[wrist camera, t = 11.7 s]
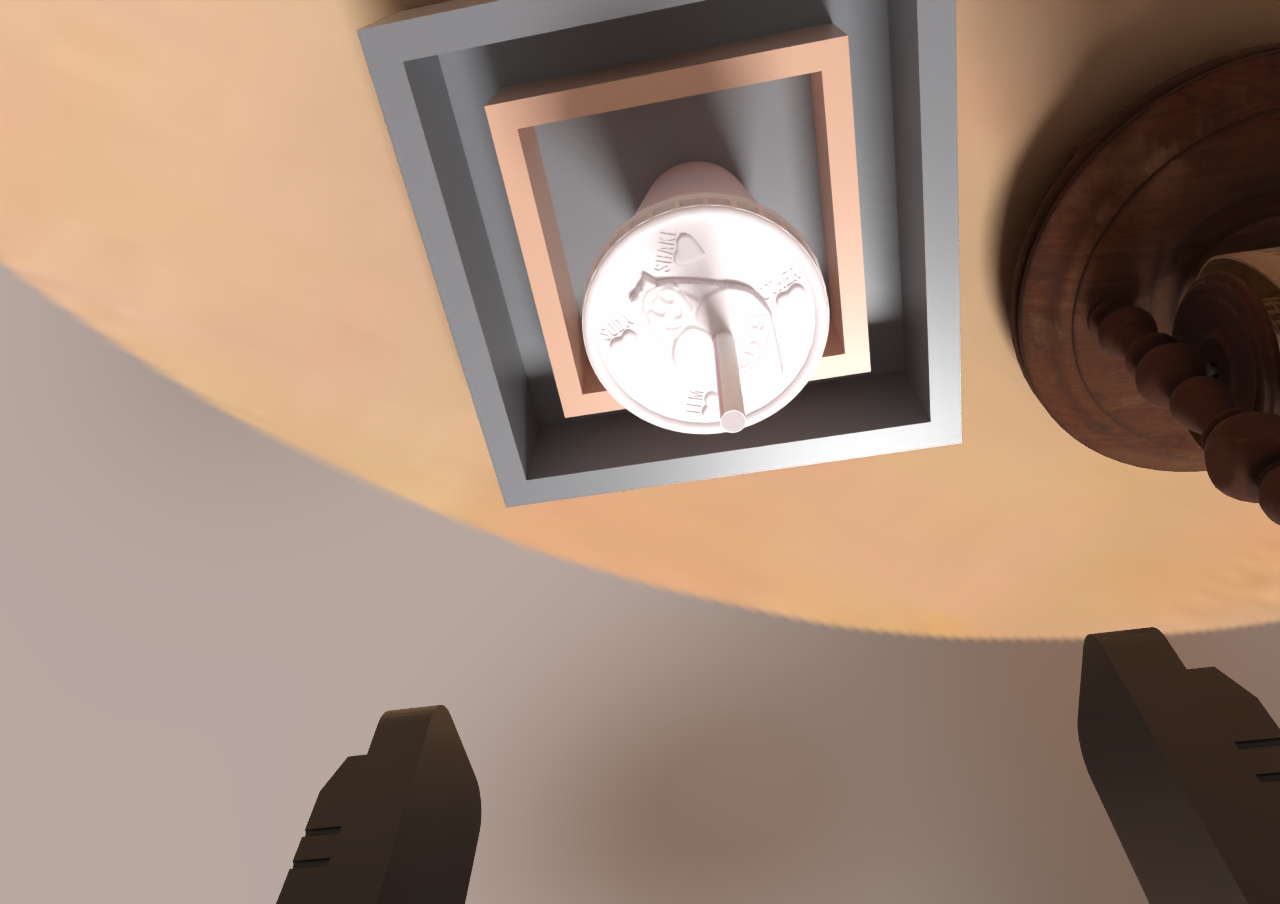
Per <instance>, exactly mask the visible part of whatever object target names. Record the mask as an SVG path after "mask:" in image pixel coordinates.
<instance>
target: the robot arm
mask: <svg viewBox="0 0 1280 904" xmlns="http://www.w3.org/2000/svg"><path fill="white" fill-rule="evenodd" d="M1078 736H1079V742H1080V747H1081V752H1082V755H1083V759H1084V762H1085V765H1086V768H1087V770H1088V773H1089V775H1090V778H1091V780H1092V782H1093V784H1094V786H1095V788H1096V791H1097V793H1098V795H1099V797H1100V799H1101V801H1102V803H1103V806H1104V808H1105V810H1106V812H1107V814H1108V816H1109V818H1110V821H1111V823H1112V825H1113V827H1114V829H1115V831H1116V833H1117V835H1118V837H1119V839H1120V842H1121V844H1122V846H1123V848H1124V850H1125V853H1126V854H1127V857H1128V859H1129V861H1130V863H1131V865H1132V867H1133V869H1134V872H1135V874H1136V876H1137V878H1138V880H1139V882H1140V884H1141V887H1142V889H1143V891H1144V893H1145V895H1146V897H1147V900H1148V902H1149V904H1280V729H1279V727H1278V726H1277V725H1276V723H1275V722H1274V721H1273V719H1272V718H1271V716H1270V715H1269V714H1268V712H1267V711H1266V709H1265V708H1264V707H1263V705H1262V704H1261V702H1260V701H1259V700H1258V698H1257V697H1255V696H1253V695H1252V694H1251V693H1250V692H1248V691H1247V690H1246V689H1244V688H1243V687H1241V686H1240V685H1239V684H1237V683H1236V682H1235V681H1233V680H1232V679H1230V678H1229V677H1228V676H1226V675H1225V674H1224V673H1222V672H1221V671H1219V670H1218V669H1217V668H1215V667H1208V668H1207V667H1206V668H1197V669H1186V668H1185V666H1184V665H1183V663H1182V662H1181V660H1180V659H1179V657H1178V655H1177V654H1176V652H1175V651H1174V649H1173V648H1172V646H1171V645H1170V643H1169V642H1168V640H1167V639H1166V637H1165V636H1164V635H1163V634H1162V633H1161V631H1160V630H1158V629H1157V628H1154V627H1150V628H1141V629H1132V630H1123V631H1114V632H1106V633H1097V634H1089V635H1087V636H1086V638H1085V641H1084V646H1083V657H1082V670H1081V683H1080V695H1079V708H1078ZM480 825H481V798H480V791H479V786H478V782H477V780H476V777H475V774H474V772H473V769H472V767H471V764H470V762H469V759H468V757H467V754H466V752H465V749H464V747H463V745H462V742H461V740H460V737H459V735H458V732H457V730H456V728H455V725H454V722H453V720H452V718H451V715H450V713H449V711H448V710H447V708H446V707H445V706H443V705H436V706H427V707H419V708H410V709H401V710H392V711H387V712H385V713H384V714H383V715H382V717H381V718H380V720H379V723H378V725H377V728H376V731H375V734H374V737H373V739H372V742H371V745H370V748H369V751H368V754H367V755H359V756H350V757H347V759H346V760H345V761H344V762H343V764H342V765H341V766H340V767H339V769H338V770H337V771H336V772H335V774H334V775H333V776H332V777H331V779H330V780H329V781H328V782H327V783H326V785H325V786H324V787H323V788H322V790H321V791H320V793H319V795H318V798H317V801H316V803H315V806H314V808H313V811H312V813H311V816H310V818H309V821H308V824H307V826H306V829H305V831H306V835H305V837H302V839H301V841H300V844H299V847H298V849H297V852H296V854H295V857H294V859H293V863H294V865H293V869H290V870H289V872H288V875H287V877H286V880H285V882H284V885H283V888H282V890H281V893H280V895H279V898H278V900H277V903H276V904H465V900H466V896H467V891H468V886H469V881H470V876H471V871H472V866H473V861H474V857H475V852H476V847H477V842H478V837H479V832H480Z"/></svg>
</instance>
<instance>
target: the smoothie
mask: <svg viewBox="0 0 1280 904" xmlns="http://www.w3.org/2000/svg"><path fill="white" fill-rule="evenodd" d="M582 329H583V338H584V344H585V348H586V352H587V355H588V358H589V361H590V363H591V365H592V368H593V370H594V372H595V374H596V375H597V377H598V379H599V380H600V382H601V383H602V385H603V386H604V387H605V389H606V390H607V391H608V392H609V393H610V394H611V396H612V397H613V398H614V399H615V400H616V401H617V402H619V403H620V404H621V405H622V406H623V407H624V408H626V409H627V410H628V411H630V412H631V413H633V414H634V415H636V416H638V417H639V418H641V419H643V420H645V421H647V422H649V423H651V424H654V425H656V426H659V427H662V428H665V429H669V430H672V431H677V432H682V433H691V434H715V433H723V432H730V433H736V432H739V431H741V430H742V429H743V428H744V427H747V426H750V425H753V424H755V423H757V422H759V421H762V420H764V419H765V418H767V417H769V416H771V415H772V414H774V413H776V412H777V411H779V410H780V409H781V408H783V407H784V406H785V405H786V404H788V403H789V402H790V401H791V400H792V399H793V398H794V397H795V396H796V395H797V394H798V393H799V392H800V391H801V390H802V389H803V387H804V386H805V385H806V384H807V382H808V381H809V379H810V378H811V377H812V375H813V373H814V371H815V370H816V368H817V366H818V364H819V362H820V360H821V357H822V355H823V352H824V349H825V346H826V341H827V337H828V330H829V303H828V297H827V292H826V286H825V282H824V279H823V276H822V273H821V269H820V266H819V263H818V260H817V257H816V256H815V254H814V253H813V251H812V250H811V248H810V247H809V245H808V244H807V242H806V241H805V239H804V238H803V236H802V235H801V233H800V232H799V231H798V230H797V229H795V228H794V227H793V226H792V225H791V224H789V223H788V222H787V221H786V220H785V219H783V218H782V217H781V216H780V215H779V214H778V213H776V212H775V211H773V210H771V209H769V208H767V207H764V206H762V205H760V204H758V202H757V201H756V200H755V199H754V198H753V196H752V195H751V194H750V193H749V192H748V191H747V189H746V188H745V187H744V186H743V185H742V184H741V182H740V181H739V180H738V179H737V178H736V177H735V176H734V175H733V174H732V173H731V172H729V171H728V170H727V169H725V168H723V167H721V166H719V165H717V164H713V163H710V162H704V161H691V162H685V163H682V164H679V165H676V166H674V167H672V168H670V169H668V170H667V171H665V172H664V173H663V174H662V175H660V176H659V177H658V178H657V179H656V181H655V182H654V183H653V184H652V186H651V187H650V189H649V191H648V193H647V194H646V196H645V198H644V199H643V201H642V203H641V204H640V206H639V208H638V210H637V211H636V213H635V215H634V216H633V217H632V218H630V219H629V220H627V221H626V222H625V223H623V224H622V225H621V226H619V227H618V228H617V229H616V230H615V232H614V233H613V234H612V235H611V237H610V238H609V239H608V240H607V242H606V243H605V244H604V245H603V247H602V248H601V249H600V250H599V252H598V253H597V255H596V258H595V260H594V262H593V265H592V267H591V269H590V272H589V274H588V276H587V279H586V281H585V288H584V296H583V304H582Z"/></svg>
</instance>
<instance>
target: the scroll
mask: <svg viewBox="0 0 1280 904" xmlns="http://www.w3.org/2000/svg"><path fill="white" fill-rule="evenodd" d="M1010 325H1011V332H1012V339H1013V345H1014V348H1015V352H1016V356H1017V360H1018V362H1019V365H1020V367H1021V370H1022V373H1023V375H1024V377H1025V379H1026V381H1027V382H1028V384H1029V386H1030V388H1031V390H1032V391H1033V393H1034V394H1035V395H1036V397H1037V398H1038V400H1039V401H1040V402H1041V404H1042V405H1043V406H1044V407H1045V409H1046V410H1047V411H1048V413H1049V414H1050V416H1051V417H1052V418H1053V419H1054V420H1055V421H1056V422H1057V423H1058V424H1059V425H1060V426H1061V427H1062V428H1063V429H1064V430H1065V431H1066V432H1067V433H1069V434H1070V435H1071V436H1072V437H1073V438H1074V439H1076V440H1078V441H1079V442H1081V443H1082V444H1084V445H1085V446H1087V447H1088V448H1090V449H1092V450H1094V451H1096V452H1098V453H1100V454H1102V455H1104V456H1106V457H1109V458H1111V459H1114V460H1117V461H1119V462H1122V463H1126V464H1129V465H1133V466H1137V467H1142V468H1148V469H1153V470H1162V471H1174V472H1197V471H1207V472H1208V475H1209V477H1210V479H1211V481H1212V482H1213V484H1214V485H1215V487H1216V488H1217V489H1218V490H1220V491H1221V492H1223V493H1224V494H1225V495H1227V496H1229V497H1232V498H1235V499H1237V500H1240V501H1246V502H1252V503H1259V504H1260V506H1261V508H1262V510H1263V511H1264V512H1265V514H1266V515H1267V516H1268V517H1269V518H1270V520H1272V521H1273V522H1275V523H1276V524H1278V525H1280V43H1276V44H1268V45H1263V46H1259V47H1254V48H1249V49H1245V50H1241V51H1238V52H1234V53H1231V54H1228V55H1225V56H1221V57H1218V58H1215V59H1213V60H1211V61H1208V62H1206V63H1203V64H1201V65H1198V66H1196V67H1193V68H1191V69H1189V70H1187V71H1185V72H1183V73H1181V74H1179V75H1177V76H1175V77H1173V78H1171V79H1169V80H1167V81H1166V82H1164V83H1162V84H1161V85H1159V86H1157V87H1156V88H1154V89H1153V90H1151V91H1149V92H1148V93H1146V94H1144V95H1143V96H1142V97H1140V98H1139V99H1137V100H1136V101H1135V102H1133V103H1132V104H1131V105H1129V106H1128V107H1126V108H1125V109H1124V110H1122V111H1121V112H1120V113H1119V114H1118V115H1116V116H1115V117H1114V118H1113V119H1112V120H1110V121H1109V122H1108V123H1107V124H1106V125H1105V126H1103V127H1102V128H1101V129H1100V130H1099V131H1098V132H1097V133H1096V134H1095V135H1094V136H1093V137H1090V138H1087V139H1085V140H1083V141H1081V142H1080V143H1078V144H1077V146H1076V148H1075V152H1074V158H1073V159H1072V160H1071V161H1070V162H1069V163H1068V164H1067V166H1066V167H1065V169H1064V170H1063V171H1062V173H1061V174H1060V175H1059V177H1058V178H1057V179H1056V181H1055V182H1054V183H1053V185H1052V187H1051V188H1050V190H1049V191H1048V193H1047V195H1046V196H1045V198H1044V199H1043V201H1042V203H1041V204H1040V206H1039V208H1038V210H1037V212H1036V214H1035V216H1034V218H1033V220H1032V222H1031V224H1030V226H1029V229H1028V231H1027V234H1026V236H1025V239H1024V241H1023V244H1022V246H1021V250H1020V253H1019V256H1018V260H1017V263H1016V267H1015V272H1014V277H1013V282H1012V289H1011V300H1010Z"/></svg>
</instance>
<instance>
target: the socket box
mask: <svg viewBox="0 0 1280 904" xmlns="http://www.w3.org/2000/svg"><path fill="white" fill-rule="evenodd" d="M357 33H358V36H359V39H360V42H361V46H362V49H363V52H364V55H365V58H366V62H367V65H368V68H369V71H370V74H371V78H372V81H373V84H374V87H375V90H376V93H377V97H378V100H379V103H380V106H381V109H382V113H383V116H384V119H385V122H386V125H387V129H388V132H389V135H390V138H391V141H392V145H393V148H394V151H395V154H396V157H397V161H398V164H399V167H400V170H401V173H402V176H403V180H404V183H405V186H406V189H407V192H408V196H409V199H410V202H411V205H412V208H413V212H414V215H415V218H416V221H417V224H418V228H419V231H420V234H421V237H422V240H423V243H424V247H425V250H426V253H427V256H428V259H429V263H430V266H431V269H432V272H433V275H434V279H435V282H436V285H437V288H438V291H439V295H440V298H441V301H442V304H443V307H444V311H445V314H446V317H447V320H448V323H449V326H450V330H451V333H452V336H453V339H454V342H455V346H456V349H457V352H458V355H459V358H460V362H461V365H462V368H463V371H464V374H465V378H466V381H467V384H468V387H469V390H470V393H471V397H472V400H473V403H474V406H475V409H476V413H477V416H478V419H479V422H480V425H481V429H482V432H483V435H484V438H485V441H486V445H487V448H488V451H489V454H490V457H491V461H492V464H493V467H494V470H495V473H496V476H497V480H498V483H499V486H500V489H501V492H502V496H503V499H504V502H505V505H506V507H513V506H520V505H527V504H534V503H541V502H548V501H555V500H562V499H569V498H576V497H583V496H591V495H598V494H605V493H612V492H619V491H626V490H633V489H640V488H647V487H654V486H661V485H668V484H675V483H682V482H690V481H697V480H704V479H711V478H718V477H725V476H732V475H739V474H746V473H753V472H760V471H767V470H774V469H781V468H789V467H796V466H803V465H810V464H817V463H824V462H831V461H838V460H845V459H852V458H859V457H866V456H873V455H880V454H887V453H895V452H902V451H909V450H916V449H923V448H930V447H937V446H944V445H951V444H958V443H962V433H961V361H960V289H959V217H958V145H957V73H956V1H955V0H451V1H446V2H441V3H436V4H431V5H427V6H422V7H417V8H412V9H408V10H403V11H400V12H398V13H395V14H393V15H391V16H389V17H386V18H384V19H382V20H379V21H377V22H375V23H372V24H370V25H368V26H365V27H363V28H361V29H358V30H357ZM691 161H704V162H710V163H713V164H717V165H719V166H721V167H723V168H725V169H727V170H728V171H729V172H731V173H732V174H733V175H734V176H735V177H736V178H737V179H738V180H739V181H740V182H741V184H742V185H743V186H744V187H745V188H746V189H747V191H748V192H749V193H750V194H751V195H752V196H753V198H754V199H755V200H756V201H757V202H758V204H760V205H762V206H764V207H767V208H769V209H771V210H773V211H775V212H776V213H778V214H779V215H780V216H781V217H782V218H783V219H785V220H786V221H787V222H788V223H789V224H791V225H792V226H793V227H794V228H795V229H797V230H798V231H799V232H800V233H801V235H802V236H803V238H804V239H805V241H806V242H807V244H808V245H809V247H810V248H811V250H812V251H813V253H814V254H815V256H816V257H817V260H818V263H819V266H820V269H821V273H822V276H823V279H824V282H825V286H826V292H827V297H828V303H829V330H828V337H827V341H826V346H825V349H824V352H823V355H822V357H821V360H820V362H819V364H818V366H817V368H816V370H815V371H814V373H813V375H812V377H811V378H810V379H809V381H808V382H807V384H806V385H805V386H804V387H803V389H802V390H801V391H800V392H799V393H798V394H797V395H796V396H795V397H794V398H793V399H792V400H791V401H790V402H789V403H788V404H786V405H785V406H784V407H783V408H781V409H780V410H779V411H777V412H776V413H774V414H772V415H771V416H769V417H767V418H765V419H764V420H762V421H759V422H757V423H755V424H753V425H750V426H747V427H744V428H743V429H742V430H741V431H739V432H736V433H730V432H723V433H715V434H691V433H682V432H677V431H672V430H669V429H665V428H662V427H659V426H656V425H654V424H651V423H649V422H647V421H645V420H643V419H641V418H639V417H638V416H636V415H634V414H633V413H631V412H630V411H628V410H627V409H626V408H624V407H623V406H622V405H621V404H620V403H619V402H617V401H616V400H615V399H614V398H613V397H612V396H611V394H610V393H609V392H608V391H607V390H606V389H605V387H604V386H603V385H602V383H601V382H600V380H599V379H598V377H597V375H596V374H595V372H594V370H593V368H592V365H591V363H590V361H589V358H588V355H587V352H586V348H585V344H584V338H583V329H582V304H583V296H584V288H585V281H586V279H587V276H588V274H589V272H590V269H591V267H592V265H593V262H594V260H595V258H596V255H597V253H598V252H599V250H600V249H601V248H602V247H603V245H604V244H605V243H606V242H607V240H608V239H609V238H610V237H611V235H612V234H613V233H614V232H615V230H616V229H617V228H618V227H619V226H621V225H622V224H623V223H625V222H626V221H627V220H629V219H630V218H632V217H633V216H634V215H635V213H636V211H637V210H638V208H639V206H640V204H641V203H642V201H643V199H644V198H645V196H646V194H647V193H648V191H649V189H650V187H651V186H652V184H653V183H654V182H655V181H656V179H657V178H658V177H659V176H660V175H662V174H663V173H664V172H665V171H667V170H668V169H670V168H672V167H674V166H676V165H679V164H682V163H685V162H691Z"/></svg>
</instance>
